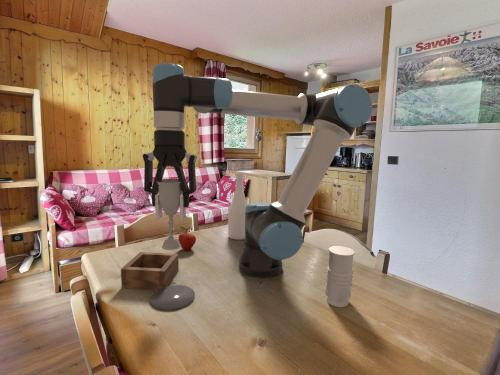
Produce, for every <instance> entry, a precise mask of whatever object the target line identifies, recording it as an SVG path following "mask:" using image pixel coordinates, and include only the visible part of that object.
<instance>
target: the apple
mask: <svg viewBox="0 0 500 375" xmlns="http://www.w3.org/2000/svg"><path fill="white" fill-rule="evenodd" d="M177 229H182V230H185V232H181V233H180V234H179V235H178V237H177V238H178V241H179V242H180V245H181V247H180V248H181V249H183V251H191V250H192V248H193V247H194V245H195V244H196V242H197V237H196V235H195V234H193V233H189V232H188V229H187V228H185V227H184V226H178V227H177V228H176V230H177Z"/></svg>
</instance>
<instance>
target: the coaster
mask: <svg viewBox="0 0 500 375" xmlns="http://www.w3.org/2000/svg"><path fill="white" fill-rule="evenodd" d="M195 297H196V294H195V290H194V289H193V288H191V287H190V286H187V285H182V284H174V285H173V284H172V285H169V286H167V287H166V288H165V289H161V288H160V289H158V290H154V292H152V294H151V295H150V298H149V303H150V305H151V306H152V307H154V308H156V309H158V310H161V311H177V310H179V309H183V308H185V307H187V306H189V305H190V304H192V302H193V301H194V300H195Z"/></svg>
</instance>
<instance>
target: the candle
mask: <svg viewBox="0 0 500 375" xmlns="http://www.w3.org/2000/svg"><path fill="white" fill-rule="evenodd" d="M328 252H329V254H328V256H329V257H328V266H327V267H326V279H325V281H326V286H325V287H326V288H325V295H326V296H327V297H326V302H327V303H328V304H330V305H331V306H334V307H337V308H344V307H347V306H348V305H349V300H350V299H351V298H352V296H351V294H352V293H351V289H352V286H353V278H354V277H353V275H354V270H353V262H354V255H355V251H354V249H353V248H350V247H348V246H344V245H333V246H330V247H328Z"/></svg>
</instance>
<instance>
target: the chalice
mask: <svg viewBox="0 0 500 375" xmlns="http://www.w3.org/2000/svg"><path fill="white" fill-rule="evenodd" d="M157 183H158V185H159V192H158V193H159V201H160V204H161V206H162V211H163V212H164V215H166V216H168V218H169V219H168V222H167V223H168V225H169V226H168V228H167V230H168V232H169V235H168V237H165V239H164V241H163V242H162V246H161V248H162V250H165V251H174V250H178V249H180V248H182V247H181V245H180V242H179V241H178V238H179V237H176V236H175V235H174V230H175V228H174V224H175V222H174V218H173V217H174V216H175V215H176V214H177V213H178V212H179V210H180V195H182V194H183V193H182V190H181V187H180V183H181V182H179V180H178V178H164V179H163V178H162V182H157Z"/></svg>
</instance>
